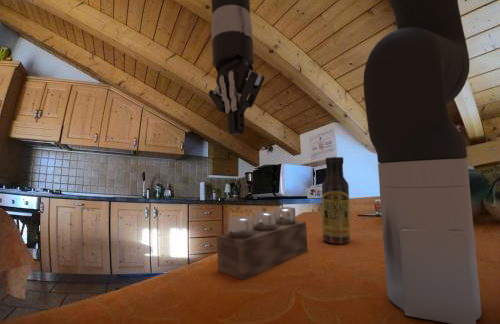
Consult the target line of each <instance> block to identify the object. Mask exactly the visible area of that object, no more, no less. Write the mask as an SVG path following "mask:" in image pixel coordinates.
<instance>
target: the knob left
mask: <svg viewBox="0 0 500 324" xmlns="http://www.w3.org/2000/svg"><path fill="white" fill-rule="evenodd" d="M228 233H229V237H231V238H248V237H252V236H254V216H251V215H250V216H249V215H239V216H237V215H236V216H231V217H229V218H228Z"/></svg>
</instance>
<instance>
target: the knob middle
mask: <svg viewBox="0 0 500 324" xmlns="http://www.w3.org/2000/svg"><path fill="white" fill-rule="evenodd" d="M253 220H254V229H255V230H258V231H271V230H275V229H277V219H276V212H275V211H272V210H271V211H269V210H268V211H267V210H266V211H265V210H264V211H262V210H261V211H255V212H253Z"/></svg>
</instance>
